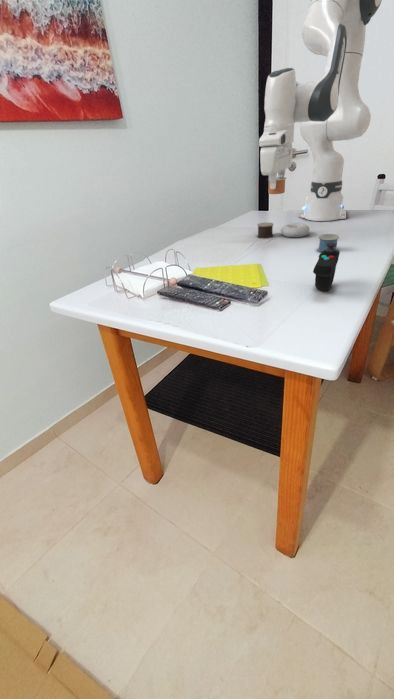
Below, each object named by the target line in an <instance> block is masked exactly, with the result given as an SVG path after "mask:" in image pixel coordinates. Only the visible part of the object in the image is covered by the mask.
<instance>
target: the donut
mask: <svg viewBox="0 0 394 699" xmlns="http://www.w3.org/2000/svg"><path fill="white" fill-rule="evenodd" d="M280 233H281V234H282V236H284V237H287V238H302V237H303V238H304V237H306V236H307V235H308V234H309V233H310V227H309V226H308V225H307V224H305V223H287V224H285V225H283V226H282V227H281V229H280Z"/></svg>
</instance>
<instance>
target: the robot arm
mask: <svg viewBox="0 0 394 699" xmlns="http://www.w3.org/2000/svg"><path fill="white" fill-rule="evenodd" d="M382 1H383V0H310V3H309V5H308V7H307V8H308V9H307V11H306V14H305V16H304V20H303V24H302V29H301V36H302V41H303V44H304V46H305V47H306V48H307V50H308V51H309V52H310V53H313V54H314V55H317V56H324V57H326V62H325V67H324V72H323V75H322V76H321V77H320V78H319V79H316V80H314V81H308V82H302V83H299V82H298V81H297V80H296V69H295V68H293V67H286V68H281V69H278V70H275V71H271V72H270V74H268V76H267V78H266V84H265V89H264V90H265V91H264V106H263V108H264V109H263V110H264V115H265V119H264V125H263V126H264V127H263V133H262V135H261V136H260V137H259V139H258V146H259V147H260V151H259V152H260V154H259V158H260V172H261V175H262V176H268V179H269V180H268V182H269V181H270V189H276V188H277V182H276V177H286V170H288V169H289V168H292V164H293V144H292V143H294V138H295V136H294V134H295V123H300V124H299V132H300V135H301V138H302V140H303V141H305V142H306V144H307V145H308V146H309V148H310V150H311V154H312V158H313V171H312V172H313V173H312V181H311V183H310V193H309V194H308V195H307V196H306V198H305V205H304V206H302V208H301V209H302V211H303V210H304V211H303V213H301V214H300V216H299V217H300V218H302V219H306V220H308V221H315V222H328V221H329V222H330V221H331V222H332V221H337V220H344V219H347V210H346V209H345V205H343V202H344V195H343V194H342V190H343V180H342V178H343V172H344V166H345V165H344V164H345V160H344V157H343V155H342V154H341V153H339V152H338V151H336V150H335V147H334V143H333V142H339V141H341V142H342V141H351V140H353V139H358V138H360V137H363V135H364V134H365V133H366V132H367V131H368V129H369V126H370V124H371V120H372V119H371V117H372V116H371V115H372V114H371V111H370V109H369V107H368V105H366V103H364V102H363V100H362V98H361V95H360V90H359V79H360V73H361V66H362V59H363V55H364V50H365V42H366V30H367V29H366V27H367V25H368V24H369V23H370V21H371V19H372V18H373V17H374V16H375V15H376V13H377V11H378V10H379V8H380V6H381V3H382Z"/></svg>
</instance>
